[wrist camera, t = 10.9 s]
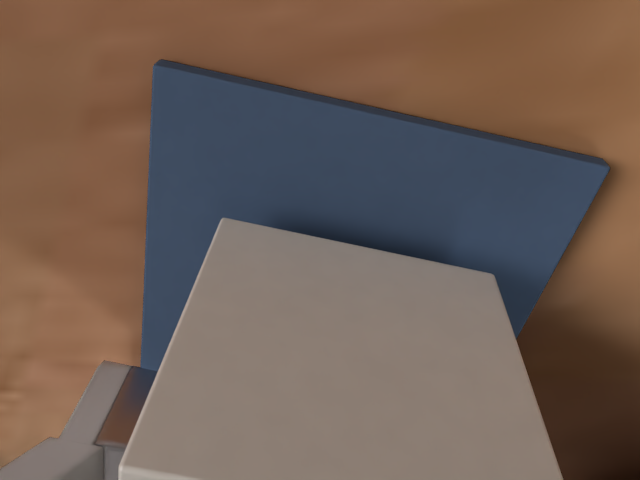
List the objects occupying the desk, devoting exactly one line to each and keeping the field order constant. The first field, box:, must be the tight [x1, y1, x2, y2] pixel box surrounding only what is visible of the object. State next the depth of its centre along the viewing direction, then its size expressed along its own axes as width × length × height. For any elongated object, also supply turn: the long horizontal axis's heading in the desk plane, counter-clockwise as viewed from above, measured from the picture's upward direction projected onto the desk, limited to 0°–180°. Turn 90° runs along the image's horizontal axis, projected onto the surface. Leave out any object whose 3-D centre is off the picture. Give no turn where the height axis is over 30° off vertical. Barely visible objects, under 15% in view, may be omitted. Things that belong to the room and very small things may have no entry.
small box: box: [118, 218, 563, 480], centre depth 9 cm, size 6×5×5 cm
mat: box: [141, 59, 610, 371], centre depth 12 cm, size 10×8×1 cm
